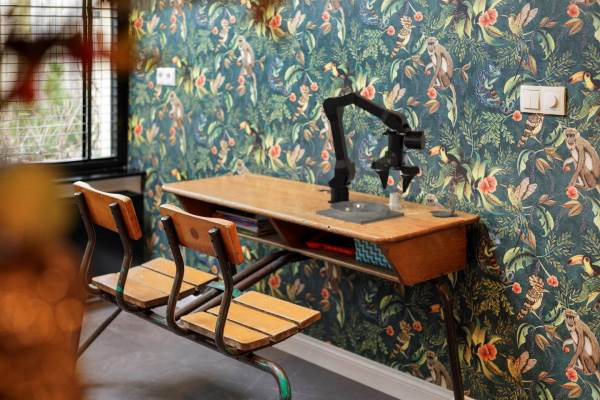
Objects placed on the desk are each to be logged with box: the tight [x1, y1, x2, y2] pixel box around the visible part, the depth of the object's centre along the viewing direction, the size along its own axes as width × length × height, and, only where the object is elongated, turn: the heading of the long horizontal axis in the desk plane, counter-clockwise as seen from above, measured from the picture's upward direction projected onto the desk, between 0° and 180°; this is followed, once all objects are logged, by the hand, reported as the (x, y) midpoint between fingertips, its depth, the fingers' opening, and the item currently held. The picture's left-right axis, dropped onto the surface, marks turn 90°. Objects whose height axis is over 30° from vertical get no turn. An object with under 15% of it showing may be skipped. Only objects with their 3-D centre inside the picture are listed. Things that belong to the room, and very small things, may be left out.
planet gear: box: [385, 192, 403, 211], centre depth 289 cm, size 6×6×6 cm
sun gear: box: [353, 202, 367, 212], centre depth 277 cm, size 5×5×3 cm
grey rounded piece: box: [431, 188, 457, 218], centre depth 277 cm, size 8×8×10 cm
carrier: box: [315, 207, 405, 225], centre depth 278 cm, size 22×22×3 cm
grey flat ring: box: [329, 200, 390, 218], centre depth 278 cm, size 21×21×2 cm
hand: (394, 191), depth 289 cm, fingers open, 9 cm apart
